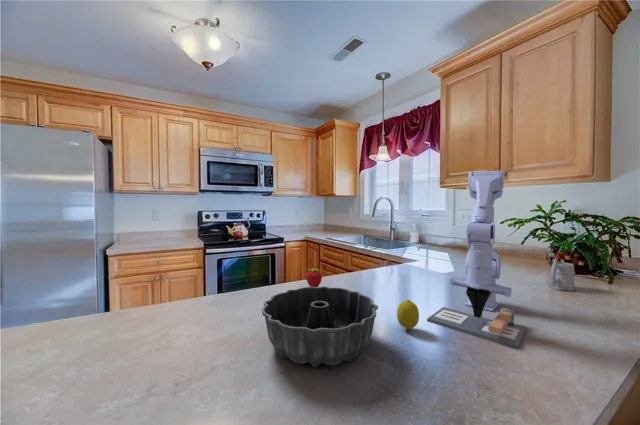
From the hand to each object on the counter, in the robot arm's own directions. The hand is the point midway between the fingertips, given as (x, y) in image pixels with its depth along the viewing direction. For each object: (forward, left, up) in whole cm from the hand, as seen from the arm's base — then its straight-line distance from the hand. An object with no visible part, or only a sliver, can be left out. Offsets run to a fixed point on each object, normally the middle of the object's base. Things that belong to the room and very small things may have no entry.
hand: (477, 316), depth 76 cm
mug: (-61, +13, -3) cm, 63 cm away
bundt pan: (+38, -24, -3) cm, 45 cm away
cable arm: (-1, +5, 0) cm, 6 cm away
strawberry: (+11, -53, -3) cm, 54 cm away
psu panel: (+1, -1, -3) cm, 3 cm away
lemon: (+16, -13, -3) cm, 20 cm away
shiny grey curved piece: (-7, +5, -3) cm, 9 cm away
